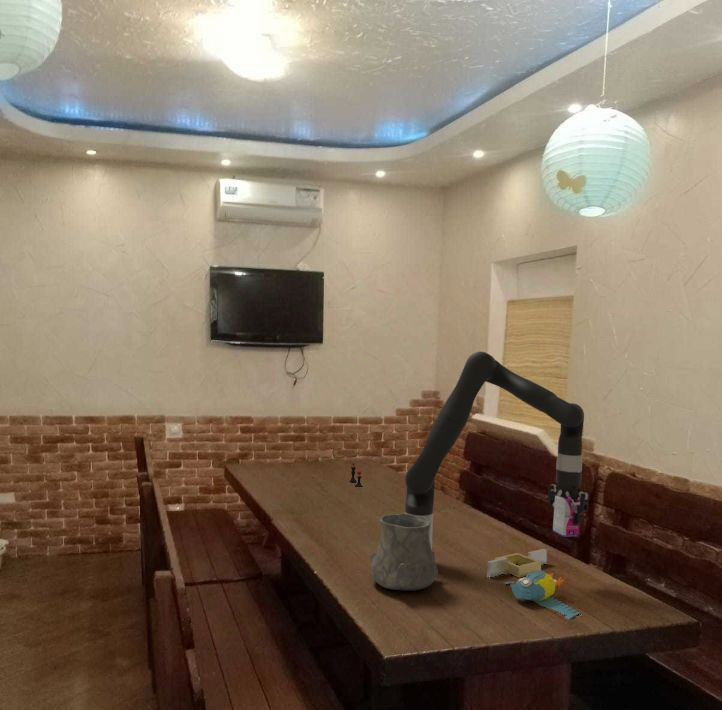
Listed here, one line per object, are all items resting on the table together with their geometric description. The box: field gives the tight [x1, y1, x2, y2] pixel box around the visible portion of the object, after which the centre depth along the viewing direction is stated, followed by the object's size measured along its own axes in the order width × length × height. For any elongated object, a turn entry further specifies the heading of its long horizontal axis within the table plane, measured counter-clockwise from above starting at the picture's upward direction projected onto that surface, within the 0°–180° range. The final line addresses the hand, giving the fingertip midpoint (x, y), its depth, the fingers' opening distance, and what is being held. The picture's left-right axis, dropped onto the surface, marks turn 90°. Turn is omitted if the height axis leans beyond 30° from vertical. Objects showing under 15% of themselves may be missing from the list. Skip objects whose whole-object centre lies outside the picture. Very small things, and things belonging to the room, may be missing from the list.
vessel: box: [370, 513, 439, 591], centre depth 194 cm, size 22×22×20 cm
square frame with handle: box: [486, 548, 548, 579], centre depth 209 cm, size 26×10×5 cm, turn 123°
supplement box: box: [552, 495, 581, 538], centre depth 198 cm, size 6×6×12 cm
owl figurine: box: [504, 569, 583, 620], centre depth 186 cm, size 28×9×15 cm
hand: (566, 521), depth 198 cm, fingers closed on supplement box, 6 cm apart
